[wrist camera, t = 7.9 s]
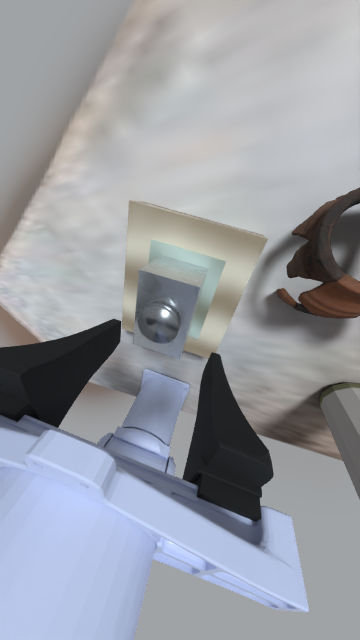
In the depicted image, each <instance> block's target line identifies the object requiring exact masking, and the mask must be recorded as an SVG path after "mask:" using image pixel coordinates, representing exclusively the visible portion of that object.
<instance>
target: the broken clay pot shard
mask: <svg viewBox="0 0 360 640" xmlns="http://www.w3.org/2000/svg"><path fill="white" fill-rule="evenodd" d="M359 203H360V188H358V189H356V190H353V191H350V192H349V193H348V194H346V195H342V196H340V197H338V198H336V200H333V201H329V202H327V203H325V204H324V205H323V206H321V207H320V208H319V209H318V210H317V211H315V212H314V214H313V215H311V216H310V217H309V218H308V219H307V220H305V221H304V222H303V223H302V224H300V225H299V226H298V227H297V228H296V229H295V230H294V231H293V232H292V235H299V236H301V237H303V238H305V239H307V240H309V241H308V242H307V243H306V244H304V245H303V246H301V247H300V248H299V249H298V250H297V251H296V253H295V254H294V257H293V259H292V260H291V261H290V262H289V263H288V265H287V275H288V277H289V278H294V277H298V276H299V277H301V278H305V279H313V280H317V281H321V282H323V284H321V285H320V286H318V287H316V288H314V289H312V290H310V291H306V292H303V293H301V294H300V296H299V297H298V298H299V299H298V300H299V301H300V302H301V304H299V303H297V302H296V301H295V300H294V299H293V298H292V297H291V296H290V295H289V294H288V292H287V291H286V290H285V289H284V288H281V289H278V290H277V294H278V295H279V296H280V297H281V299H282V300H284V301H285V302H286V303H287V304H289V305H291V306H292V307H293V308H295V309H296V310H299V311H302V312H305V313H309V314H312V315H316V316H321V317H326V318H328V317H329V318H356V317H358V316H360V281H358V280H356V279H354V278H352V277H351V276H349V275H347V274H345V273H343V271H342V270H341V268H340V267H339V266H338V264H337V263H336V261H335V259H334V257H333V254H332V250H331V243H330V242H331V233H332V228H333V226H334V224H335V222H336V221H337V219H338V218H339V217H340V215H341V214H342V213H343V212H344V211H346V210H347V209H348V208H350V207H352V206H354V205H356V204H359Z"/></svg>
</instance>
